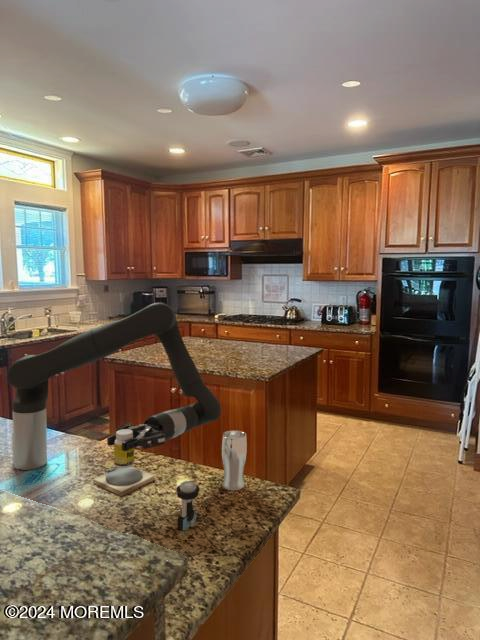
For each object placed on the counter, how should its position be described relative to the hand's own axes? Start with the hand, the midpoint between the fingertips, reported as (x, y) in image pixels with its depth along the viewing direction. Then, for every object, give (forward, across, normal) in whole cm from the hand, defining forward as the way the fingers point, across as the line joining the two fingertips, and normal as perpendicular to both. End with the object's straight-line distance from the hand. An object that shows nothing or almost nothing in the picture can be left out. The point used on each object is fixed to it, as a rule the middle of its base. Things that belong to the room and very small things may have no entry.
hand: (115, 444), depth 106 cm
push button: (-8, +17, +18) cm, 26 cm away
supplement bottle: (-3, 0, +6) cm, 7 cm away
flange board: (-12, -12, +18) cm, 25 cm away
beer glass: (-29, +14, +18) cm, 37 cm away
